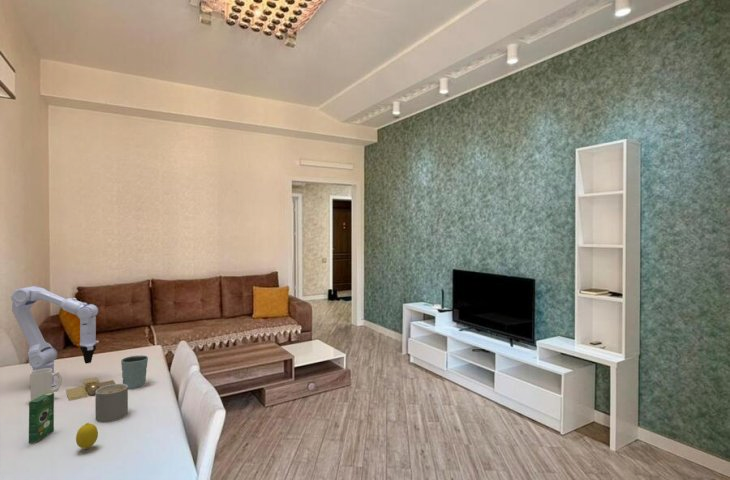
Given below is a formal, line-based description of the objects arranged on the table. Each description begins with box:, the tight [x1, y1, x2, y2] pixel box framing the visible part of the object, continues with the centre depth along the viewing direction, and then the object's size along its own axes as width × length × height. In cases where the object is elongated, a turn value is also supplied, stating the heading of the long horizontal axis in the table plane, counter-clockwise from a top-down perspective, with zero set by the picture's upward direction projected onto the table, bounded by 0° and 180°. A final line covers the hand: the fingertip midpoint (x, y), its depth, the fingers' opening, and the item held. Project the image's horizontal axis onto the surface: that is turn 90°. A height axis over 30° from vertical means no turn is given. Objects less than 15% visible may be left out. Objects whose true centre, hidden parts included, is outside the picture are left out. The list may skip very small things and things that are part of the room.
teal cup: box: [120, 355, 149, 391], centre depth 173 cm, size 10×10×12 cm
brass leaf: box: [65, 377, 99, 401], centre depth 165 cm, size 12×11×4 cm
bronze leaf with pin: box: [87, 379, 116, 396], centre depth 169 cm, size 12×10×4 cm
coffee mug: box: [94, 383, 129, 423], centre depth 145 cm, size 13×10×10 cm
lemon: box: [75, 422, 99, 450], centre depth 121 cm, size 6×6×8 cm
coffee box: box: [28, 392, 55, 444], centre depth 129 cm, size 8×3×13 cm, turn 6°
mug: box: [29, 368, 63, 401], centre depth 157 cm, size 10×7×12 cm, turn 124°
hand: (87, 362), depth 175 cm, fingers closed
